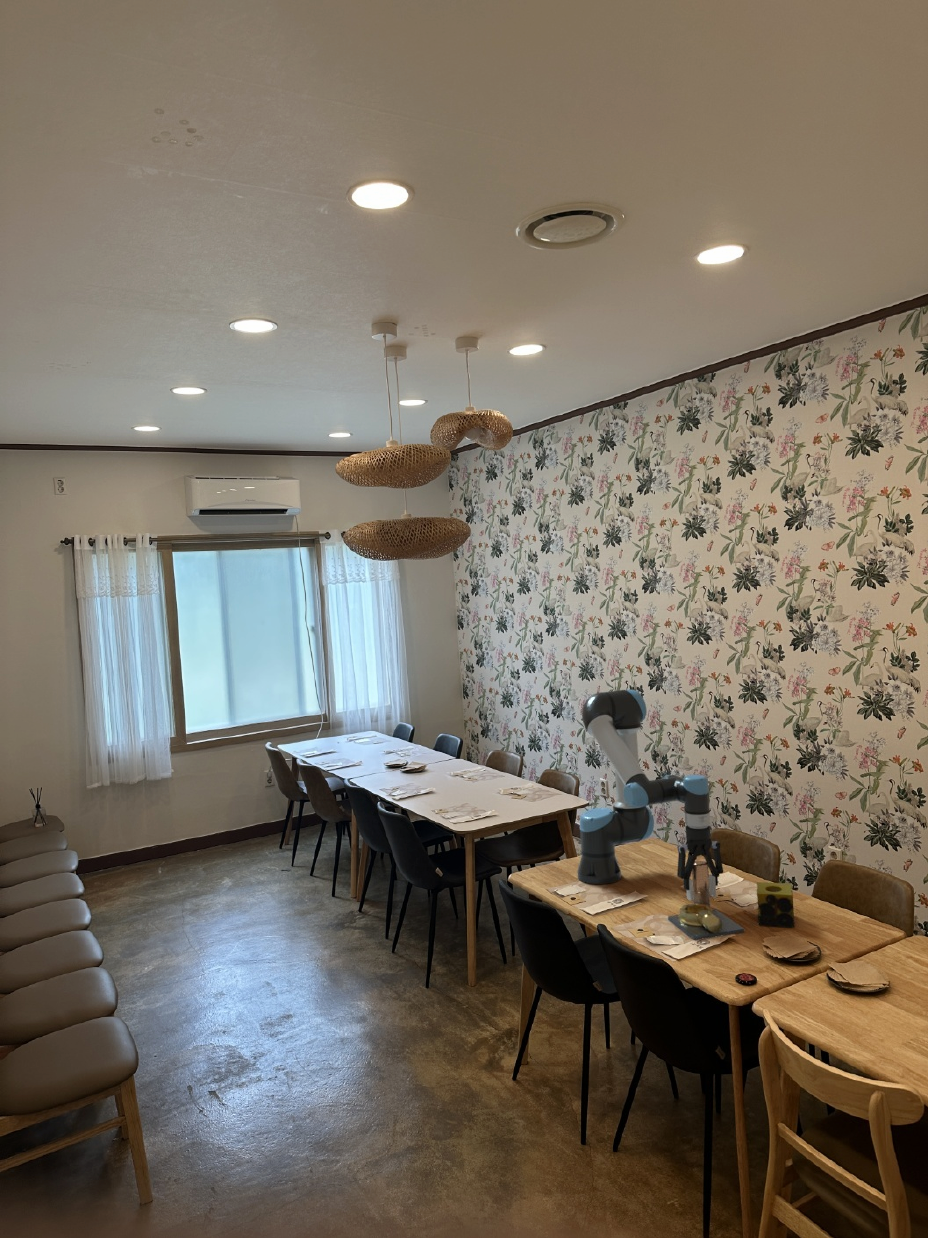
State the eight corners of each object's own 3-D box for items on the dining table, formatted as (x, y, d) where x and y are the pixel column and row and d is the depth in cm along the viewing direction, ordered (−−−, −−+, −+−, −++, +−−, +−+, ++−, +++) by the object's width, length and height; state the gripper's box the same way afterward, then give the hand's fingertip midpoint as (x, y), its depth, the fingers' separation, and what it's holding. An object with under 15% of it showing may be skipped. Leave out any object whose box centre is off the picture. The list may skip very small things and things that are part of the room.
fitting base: (667, 919, 257) (666, 901, 257) (715, 911, 261) (714, 894, 260) (693, 940, 241) (692, 921, 241) (744, 932, 245) (743, 913, 244)
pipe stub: (690, 906, 266) (688, 862, 266) (705, 903, 268) (703, 860, 267) (698, 911, 262) (696, 867, 261) (713, 909, 263) (711, 864, 262)
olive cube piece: (793, 916, 254) (792, 883, 254) (795, 929, 245) (793, 895, 245) (758, 913, 258) (756, 881, 257) (758, 926, 248) (756, 892, 248)
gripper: (673, 832, 258) (677, 906, 259) (733, 824, 262) (736, 897, 263) (662, 826, 265) (666, 898, 266) (720, 818, 270) (724, 889, 270)
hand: (701, 897), depth 264 cm, fingers open, 7 cm apart
